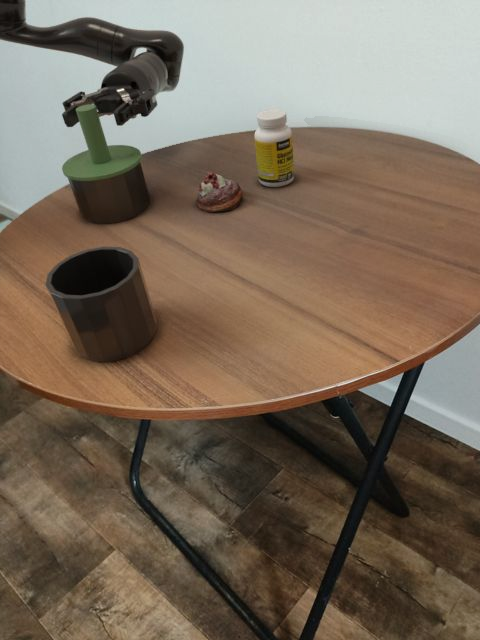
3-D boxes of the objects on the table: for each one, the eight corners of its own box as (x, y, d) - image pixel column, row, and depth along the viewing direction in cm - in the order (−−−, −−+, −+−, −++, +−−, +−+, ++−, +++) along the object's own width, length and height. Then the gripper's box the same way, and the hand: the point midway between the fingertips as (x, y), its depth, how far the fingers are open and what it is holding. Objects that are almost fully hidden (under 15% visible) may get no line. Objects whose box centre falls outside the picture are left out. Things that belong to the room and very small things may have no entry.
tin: (69, 223, 85) (53, 179, 80) (99, 191, 94) (86, 150, 89) (134, 224, 83) (121, 179, 78) (159, 191, 91) (149, 149, 86)
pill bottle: (283, 190, 87) (278, 122, 79) (252, 185, 90) (244, 119, 82) (301, 175, 90) (297, 109, 83) (270, 171, 93) (264, 106, 86)
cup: (58, 359, 60) (28, 296, 54) (96, 306, 67) (72, 245, 61) (139, 365, 58) (116, 300, 52) (168, 310, 65) (151, 247, 59)
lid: (50, 184, 81) (26, 123, 74) (86, 152, 90) (67, 95, 83) (124, 184, 78) (106, 121, 72) (154, 151, 87) (140, 92, 81)
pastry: (189, 201, 87) (183, 172, 84) (227, 187, 90) (223, 158, 87) (212, 218, 82) (207, 188, 79) (252, 202, 85) (249, 172, 81)
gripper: (174, 108, 92) (140, 143, 80) (101, 111, 95) (58, 145, 83) (165, 61, 87) (127, 91, 75) (88, 65, 90) (40, 95, 78)
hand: (91, 119), depth 79 cm, fingers open, 8 cm apart
